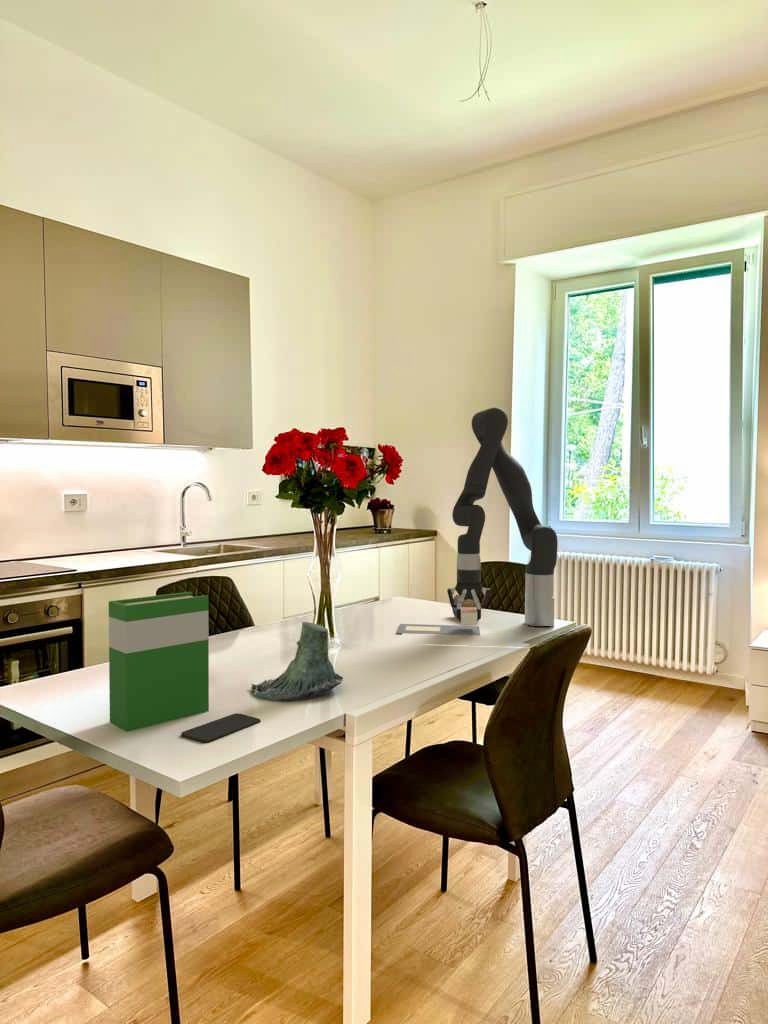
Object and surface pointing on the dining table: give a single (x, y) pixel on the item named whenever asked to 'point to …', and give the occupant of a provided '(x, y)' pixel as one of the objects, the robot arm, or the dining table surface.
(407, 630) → the mat
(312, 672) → the tree stump
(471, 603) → the tin
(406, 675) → the dining table surface
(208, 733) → the phone
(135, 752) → the dining table surface
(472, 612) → the card deck
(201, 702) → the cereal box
